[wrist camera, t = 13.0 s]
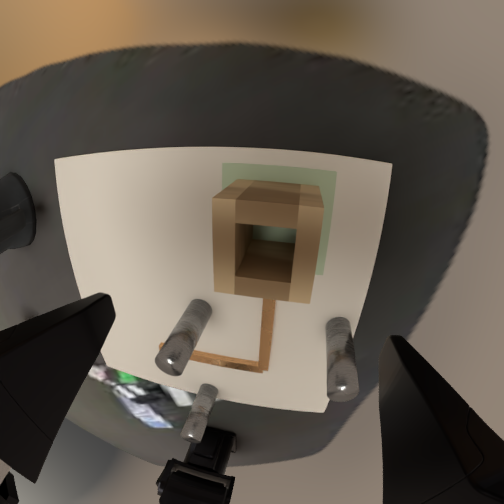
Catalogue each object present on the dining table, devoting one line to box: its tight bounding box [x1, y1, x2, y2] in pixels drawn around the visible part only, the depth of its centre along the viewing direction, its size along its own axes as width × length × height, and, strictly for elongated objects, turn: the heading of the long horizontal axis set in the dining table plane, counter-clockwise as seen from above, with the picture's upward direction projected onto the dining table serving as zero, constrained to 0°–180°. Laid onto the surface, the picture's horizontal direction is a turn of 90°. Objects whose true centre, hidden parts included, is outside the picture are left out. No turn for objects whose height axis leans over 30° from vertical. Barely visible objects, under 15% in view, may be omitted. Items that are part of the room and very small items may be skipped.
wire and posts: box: [155, 299, 359, 443], centre depth 20 cm, size 10×18×6 cm, turn 133°
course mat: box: [55, 147, 392, 413], centre depth 22 cm, size 25×26×1 cm
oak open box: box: [212, 179, 324, 304], centre depth 15 cm, size 5×5×5 cm
